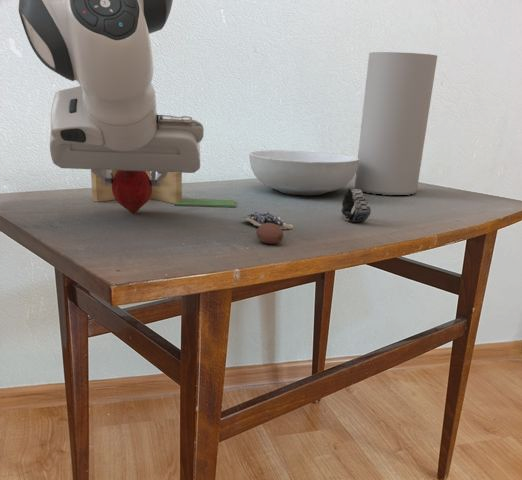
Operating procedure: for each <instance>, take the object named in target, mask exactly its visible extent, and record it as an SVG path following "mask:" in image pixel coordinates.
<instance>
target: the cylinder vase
mask: <svg viewBox="0 0 522 480" xmlns="http://www.w3.org/2000/svg"><path fill="white" fill-rule="evenodd" d="M437 61H438V55H436V54H430V53H418V52H417V53H416V52H399V51H398V52H396V51H395V52H394V51H376V52H375V51H374V52H369V53H368V61H367V70H366V79H365V85H364V86H365V87H364V97H363V106H362V116H361V124H360V133H359V140H358V141H359V142H358V151H357V158H359V164H358V168H357V171H356V173H355V176H354V177H355V178H354V189H360V190H361V191H362V193H365V192H366V193H365V194H369V193H372V194H371V195H376V194H382V195H381V196H385V195H408V196H411V195H410V194H412V195H414V194H416V193H417V191H418V185H419V180H420V173H421V166H422V160H423V153H424V146H425V142H426V141H425V140H426V134H427V127H428V121H429V114H430V107H431V101H432V93H433V88H434V81H435V74H436V68H437Z"/></svg>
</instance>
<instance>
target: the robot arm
mask: <svg viewBox="0 0 522 480" xmlns="http://www.w3.org/2000/svg"><path fill="white" fill-rule="evenodd" d="M173 2H174V0H18V14H19V18H20V21H21V24H22V27H23V30H24V33H25V35H26V38H27V40H28V43H29V45H30V47H31V49H32V51H33V52H34V54H35V55H36V57H37V58H38V59H39V60H40V62H42V65H44V66H46V67H47V69H49V70H51V71H52V72H54V73H56V74H57V75H59V76H61V78H64V79H66V80H69V81H71V82H74V81H76V82H77V83H78V84H79V85H78V86H75V87H69V88H66V89H61V90H58V91H56V92H55V93H54V95H53V100H52V105H51V110H50V136H49V153H50V157H51V161H52V163H53V164H54V166H57V167H58V168H60V169H71V170H72V169H73V170H74V169H75V170H90V172H91V171H92V172H93V173H94V174H95V175H97V176H98V177H99V178H101V179H102V184H103V185H112V182H113V171H112V170H124V171H151V176H150V182H151V186H156V187H157V186H158V187H161V180H162V179H163V178H164V177H165V176H166V175H167V172H179V173H182V174H183V173H184V174H194V173H196V172H198V171H199V170H200V169H201V144H200V143H201V142H202V140H203V139H204V126H203V123H201V122H200V121H198V120H195V119H193V117H192V116H187V115H182V116H176V115H168V114H158V111H157V100H156V91H155V87H154V84H153V82H152V81H153V78H154V60H153V59H154V58H153V49H152V43H151V36H150V35H151V34H153V33H156V32H158V31H161V30H163V29H164V27H165V25H166V23H167V21H168V18H169V17H170V14H171V11H172V7H173Z"/></svg>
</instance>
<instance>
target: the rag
mask: <svg viewBox="0 0 522 480" xmlns="http://www.w3.org/2000/svg"><path fill="white" fill-rule="evenodd" d="M173 206H175V207H176V206H179V207H207V208H208V207H211V208H212V207H215V208H236V207H237V205H236V202H235V200H234V199H217V198H216V199H215V198H213V199H211V198H183V197H182V202H175V203H174V205H173Z"/></svg>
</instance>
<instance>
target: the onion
mask: <svg viewBox="0 0 522 480" xmlns="http://www.w3.org/2000/svg"><path fill="white" fill-rule="evenodd" d="M112 191H113V195H114V197H115V199H116V200H115V201H116V202H117V203H118V204H119V205H120V206H122V208H124V209H125V210H127V211H128V212H129V213H132V214H133V213H137V212H138V211H139V210H140V209H141V208H142V207H144V206H145V205H146V204H147V203H148V202H149V201H150V199H151V198H150V197H151V193H152V186H151V182H150V178H149V176H148V175H147V173H146V172H145V171H124V170H118V171H117V172H116V174H115V176H114V178H113V182H112Z"/></svg>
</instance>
